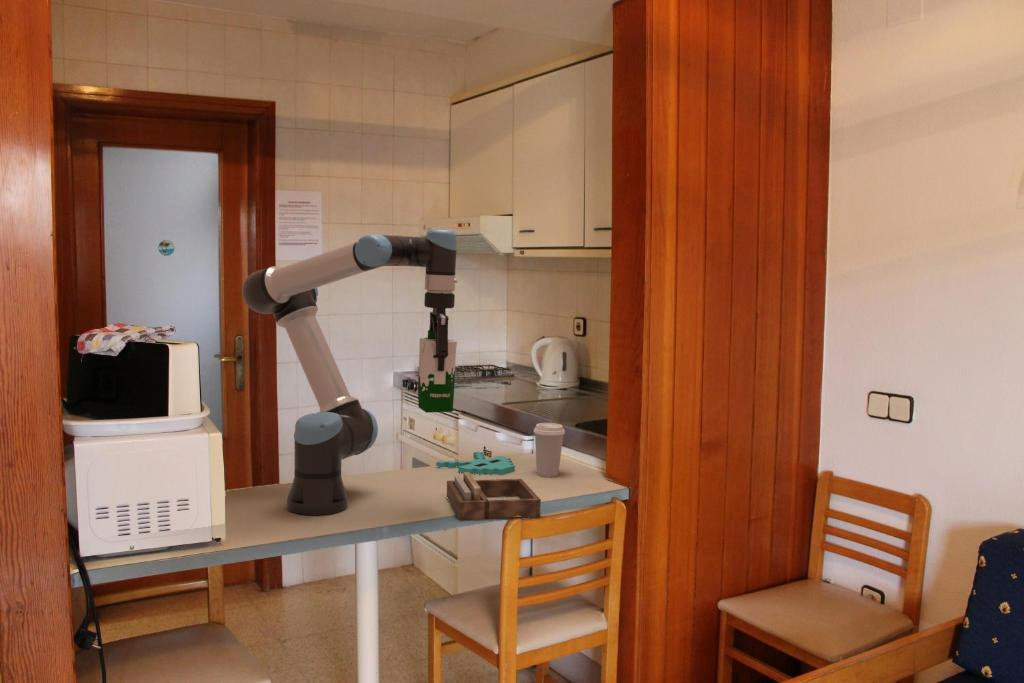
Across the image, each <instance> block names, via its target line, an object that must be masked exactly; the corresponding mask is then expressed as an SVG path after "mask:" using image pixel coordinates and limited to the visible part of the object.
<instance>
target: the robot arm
mask: <svg viewBox="0 0 1024 683" xmlns="http://www.w3.org/2000/svg"><path fill="white" fill-rule="evenodd" d="M457 241H458V240H457V233H456V232H455V231H454V230H449V229H448V230H447V229H428V230H427V232H426V235H425V236H422V237H421V236H409V235H407V236H405V235H387V234H380V233H378V234H377V233H372V234H365V235H363V236H361V237H359V239H358V240H357V241H356V242H353V243H350V244H349V243H348V244H347V245H344V246H340V247H337V248H335V249H331V250H328V251H326V252H323V253H321V254H318V255H313V256H311V257H308V258H306V259H302V260H299V261H297V262H293V263H292V264H288V265H285V266H282V267H279V266H270V267H267V268H264V269H260V270H259V269H258V270H257V271H254V272H252V273H250V275H248V276H247V277H246V278H245V280H244V282H243V284H242V289H241V292H242V294H241V295H242V298H243V301H244V302H245V305H246V306H248V308H249V309H251V310H252V311H253V312H256V313H257V314H261V315H262V314H263V315H271V314H272V315H273V318H274V320H275V322H276V324H277V326H278V327H281V328H284V329H285V331H286V333H287V335H288V337H289V340H290V342H291V345H292V347H293V349H294V351H295V353H296V356H297V358H298V359H297V360H299V363H300V365H301V367H302V370H303V373H304V374H305V377H306V379H307V381H308V384H309V387H310V388H311V391H312V393H313V395H314V398H315V400H316V402H317V405H318V407H319V411H317V412H315V413H313V412H312V413H309V414H308V413H307V414H305V415H303V416H301V417H300V418H298V419H297V420H296V422H295V426H294V433H293V437H294V475H293V476H294V478H293V481H292V484H291V487H290V489H289V492H288V495H287V499H286V509H287V510H288V511H290V513H291V512H292V513H294V514H300V515H306V516H317V515H318V516H323V515H331V514H336V513H340V512H343V511H344V510H346V509H347V508H348V507H349V505H348V504H349V498H348V494H347V491H346V488H345V484H344V480H343V478H342V460H345V459H349V458H351V457H353V456H357V455H361V454H363V453H364V452H366V451H368V450H369V449H371V448H372V446H373V445H374V444H375V443H376V440H377V437H378V433H379V427H378V422H377V419H376V417H375V415H374V414H373V413H372V412H371V411H368V410H367V409H365V408H362V405H361V404H360V400H359V399H358V398H356V397H353V396H351V394H350V392H349V390H348V388H347V385H346V383H345V381H344V378H343V377H342V374H341V372H340V369H339V367H338V364H337V362H336V361H335V358H334V355H333V353H332V352H331V349H330V347H329V345H328V342H327V340H326V338H325V335H324V333H323V331H322V328H321V326H320V324H319V322H318V319H317V317H316V314H317V313H318V309H319V308H318V305H317V302H318V296H319V289H318V288H320V287H322V286H325V285H329V284H331V283H335V282H338V281H341V280H344V279H346V278H349V277H350V278H351V277H353V276H356V275H358V274H362V273H365V272H369V271H372V270H376V269H378V268H381V267H420V268H425V275H424V290H425V291H426V292H425V293H424V301H423V302H424V303H423V304H424V307H425V308H428V309H432V311H430V312H429V329H428V330H431V331H433V332H434V333H435V341H436V355H433V358H435V369H434V384H445V377H446V357H448V338H449V318H450V317H449V316H448V315H446V314H447V313H446V310H447V309H453V308H454V307H455V301H456V300H455V297H456V296H455V293H453V292H455V290H456V289H455V288H456V284H457V283H458V279H457V278H456V265H457V263H456V262H457V251H458V246H457V245H458V244H457Z"/></svg>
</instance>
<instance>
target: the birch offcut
mask: <svg viewBox="0 0 1024 683" xmlns="http://www.w3.org/2000/svg"><path fill="white" fill-rule="evenodd" d="M462 480H463V481H464V483H465V484H466V485H467V487H468V488H469V490H470V491H471V501H475V500H480V495H481V488H480V486H479V485H478V484H477V482H476V481H475V480H476V479H475V478H474V477H473V475H471V474H470V473H469V472H464V474H463V477H462Z"/></svg>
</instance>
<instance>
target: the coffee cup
mask: <svg viewBox="0 0 1024 683" xmlns="http://www.w3.org/2000/svg"><path fill="white" fill-rule="evenodd" d="M533 433H534V441H535V442H534V443H535V462H536V463H535V464H536V465H535V466H536V475H537V476H539V477H543V478H554V477H555V478H556V477H558V476H559V474H560V473H559V471H560V463H561V457H562V450H563V441H564V435H565V434H566V430H565V429H564V426H563V425H562V424H559V423H554V422H540V423H536V425H535V427H534V428H533Z"/></svg>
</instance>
